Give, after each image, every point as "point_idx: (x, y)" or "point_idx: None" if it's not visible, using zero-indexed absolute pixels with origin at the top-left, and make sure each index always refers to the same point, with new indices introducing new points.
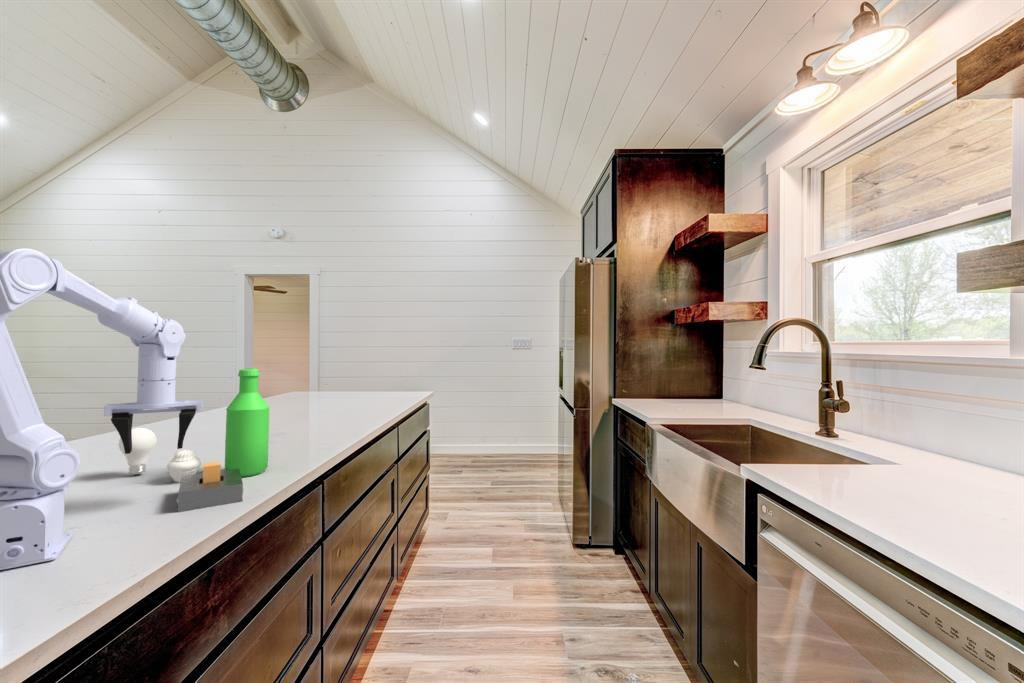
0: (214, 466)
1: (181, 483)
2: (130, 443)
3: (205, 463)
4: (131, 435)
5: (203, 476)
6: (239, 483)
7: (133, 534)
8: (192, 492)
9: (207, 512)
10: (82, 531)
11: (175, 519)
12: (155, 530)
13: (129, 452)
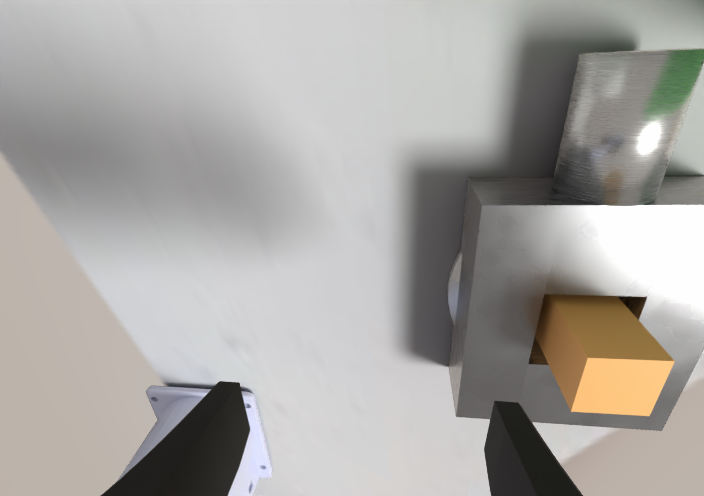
0: (618, 409)
1: (471, 323)
2: (220, 468)
3: (597, 359)
4: (174, 473)
5: (554, 375)
6: (652, 425)
7: (366, 438)
8: None
9: None
10: (262, 374)
11: (442, 408)
12: (404, 441)
13: (247, 436)
